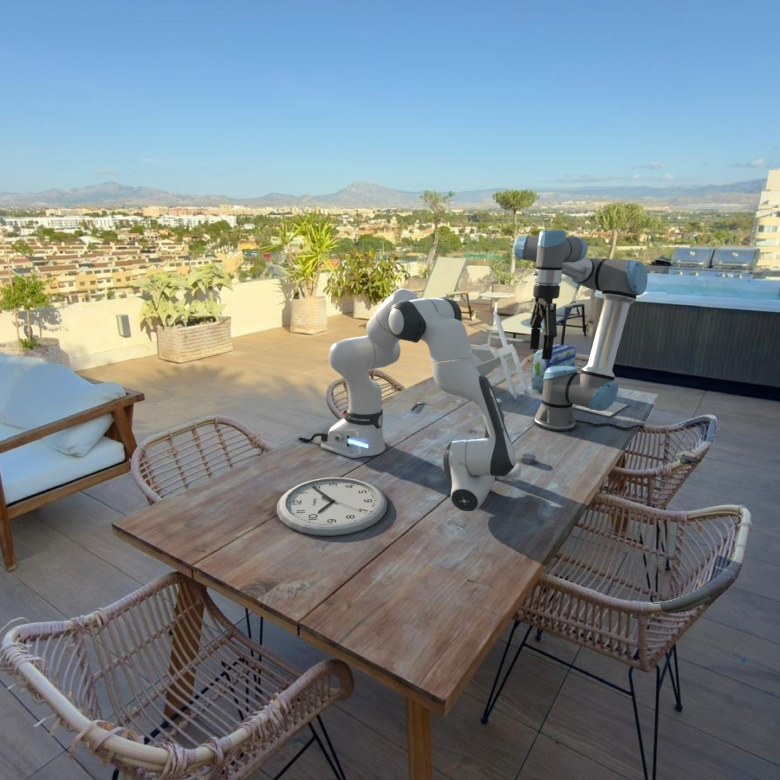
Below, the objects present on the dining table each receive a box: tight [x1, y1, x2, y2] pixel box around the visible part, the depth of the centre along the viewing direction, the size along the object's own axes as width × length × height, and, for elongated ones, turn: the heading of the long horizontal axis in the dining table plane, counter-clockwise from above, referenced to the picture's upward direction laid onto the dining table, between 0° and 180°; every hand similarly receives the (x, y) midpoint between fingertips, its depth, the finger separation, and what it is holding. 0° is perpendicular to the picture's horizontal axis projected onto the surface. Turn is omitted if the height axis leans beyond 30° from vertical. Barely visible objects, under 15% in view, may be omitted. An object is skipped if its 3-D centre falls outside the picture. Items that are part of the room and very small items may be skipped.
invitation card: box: [573, 401, 629, 418], centre depth 226 cm, size 21×1×15 cm
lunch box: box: [530, 344, 577, 392], centre depth 247 cm, size 26×11×21 cm, turn 134°
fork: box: [410, 395, 425, 412], centre depth 222 cm, size 3×16×2 cm, turn 160°
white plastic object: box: [450, 310, 531, 400], centre depth 245 cm, size 37×45×31 cm
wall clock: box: [276, 476, 388, 537], centre depth 142 cm, size 30×2×30 cm
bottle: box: [484, 398, 505, 438], centre depth 160 cm, size 5×5×24 cm
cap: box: [520, 452, 536, 465], centre depth 172 cm, size 4×4×2 cm
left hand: (491, 457), depth 160 cm, fingers open, 8 cm apart
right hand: (539, 353), depth 161 cm, fingers open, 13 cm apart
